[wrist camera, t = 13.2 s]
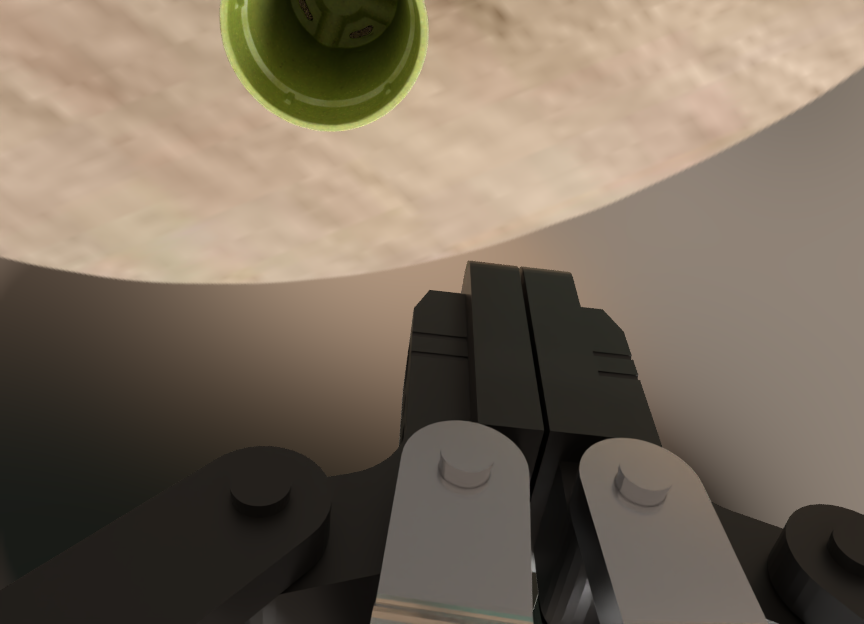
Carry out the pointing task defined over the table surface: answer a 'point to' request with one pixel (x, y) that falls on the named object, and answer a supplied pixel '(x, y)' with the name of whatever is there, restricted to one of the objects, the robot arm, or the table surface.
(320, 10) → the plant pot
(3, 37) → the table surface
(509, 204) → the table surface
